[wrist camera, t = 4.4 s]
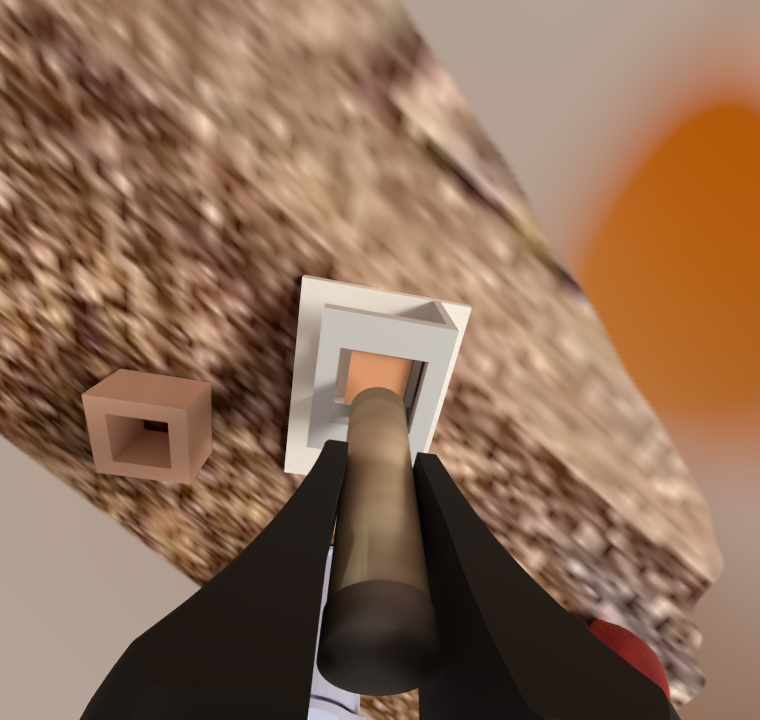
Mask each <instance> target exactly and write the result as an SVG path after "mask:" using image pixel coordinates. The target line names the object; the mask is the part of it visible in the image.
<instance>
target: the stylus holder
mask: <svg viewBox="0 0 760 720" xmlns="http://www.w3.org/2000/svg"><path fill="white" fill-rule="evenodd" d="M81 395H82V400H83V405H84V411H85V416H86V421H87V426H88V432H89V437H90V442H91V447H92V453H93V458H94V463H95V468H96V473H104V474H112V475H120V476H128V477H135V478H143V479H151V480H159V481H167V482H175V483H182V484H191V483H192V481H193V479H194V478H195V476H196V475H197V473H198V472H199V470H200V469H201V467H202V466H203V464H204V463H205V461H206V460H207V458H208V457H209V455H210V453H211V452H212V411H211V382H204V381H198V380H191V379H185V378H178V377H172V376H165V375H159V374H152V373H145V372H139V371H132V370H126V369H119V370H118V371H116V372H115V373H113V374H112V375H110V376H109V377H107V378H106V379H104V380H103V381H101V382H99V383H98V384H96V385H95V386H93V387H92V388H90V389H89V390H87V391H86V392H84V393H83V394H81ZM143 419H146V420H153V421H160V422H167V423H168V430H169V433H167V432H159V431H152V430H145V429H144V420H143Z"/></svg>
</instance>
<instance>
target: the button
mask: <svg viewBox="0 0 760 720" xmlns="http://www.w3.org/2000/svg"><path fill="white" fill-rule="evenodd" d="M411 365H412V359H406V358H400V357H394V356H388V355H382V354H376V353H370V352H364V351H358V350H352V354H351V360H350V366H349V372H348V378H347V384H346V390H345V396H344V404H351V403H352V401H353V399H354V398H355V396H356V395H357V394H359V393H360V392H361V391H363V390H365V389H368V388H372V387H383V388H387V389H390V390H392V391H393V392H395V393H396V394H397V395H398V396H399V397H400V398H401V399H402V401H403V397H404V393H405V389H406V385H407V381H408V377H409V373H410V369H411Z"/></svg>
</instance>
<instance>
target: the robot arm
mask: <svg viewBox="0 0 760 720" xmlns="http://www.w3.org/2000/svg"><path fill="white" fill-rule="evenodd" d="M348 444H349V442H345V441H338V440H331V439H329V440H327V441H326V442H325V444H324V446H323V449H322V451H321V453H320V455H319V457H318V459H317V460H316V462H315V464H314V465H313V467H312V469H311V470H310V472H309V473H308V475H307V476H306V478H305V479H304V481H303V482H302V484H301V485H300V486H299V488H298V489H297V490H296V492H295V493H294V494H293V496H292V497H291V498H290V499H289V501H288V502H287V503H286V505H285V506H284V507H283V508H282V509H281V511H280V512H279V513H278V514H277V515H276V517H275V518H274V519H273V520H272V521H271V522H270V523H269V524H268V526H267V527H266V528H265V529H264V530H263V531H262V532H261V533H260V534H259V535H258V536H257V537H256V538H255V539H254V540H253V541H252V542H251V543H250V544H249V545H248V546H247V547H246V548H245V549H244V550H243V551H242V552H241V553H240V554H239V555H238V556H237V557H236V558H235V559H234V560H233V561H232V562H231V563H230V564H228V565H227V566H226V567H225V568H224V569H223V570H222V571H221V572H219V573H218V574H217V575H216V576H215V577H214V578H212V579H211V580H210V581H209V582H208V583H207V584H205V585H204V586H203V587H202V588H201V589H200V590H198V591H197V592H196V593H195V594H194V595H193V596H191V597H190V598H189V599H188V600H186V601H185V602H184V603H183V604H181V605H180V606H179V607H177V608H176V609H175V610H173V611H172V612H171V613H169V614H168V615H167V616H165V617H164V618H163V619H162V620H160V621H159V622H158V623H156V624H155V625H154V626H152V627H151V628H150V629H148V630H147V631H146V632H144V633H143V634H142V635H141V636H139V637H138V638H136V639H135V640H134V641H133V642H132V643H131V644H130V646H129V647H128V648H127V649H126V651H125V652H124V653H123V655H122V656H121V657H120V659H119V660H118V661H117V663H116V664H115V665H114V667H113V668H112V669H111V671H110V672H109V674H108V675H107V677H106V678H105V680H104V681H103V682H102V684H101V685H100V687H99V688H98V690H97V691H96V693H95V694H94V696H93V697H92V699H91V700H90V702H89V704H88V705H87V707H86V709H85V711H84V713H83V714H82V716H81V718H80V720H367V718H366V716H361V715H359V713H360V694H355V693H351V692H347V691H344V690H342V689H339V688H337V687H335V686H333V685H332V684H330V683H329V682H328V681H326V680H325V679H324V678H323V677H322V676H321V674H320V673H319V671H318V668H317V664H316V660H317V652H318V644H319V636H320V628H321V621H322V613H323V609H324V606H325V604H326V601H327V593H328V585H329V576H330V568H331V560H332V552H333V546H330V544H331V540H332V536H333V531H334V527H335V522H336V517H337V511H338V503H339V498H340V493H341V488H342V484H343V479H344V473H345V468H346V463H347V457H348ZM413 474H414V481H415V489H416V496H417V503H418V510H419V518H420V525H421V532H422V540H423V547H424V554H425V561H426V569H427V576H428V583H429V590H430V598H431V602H432V604H433V606H434V609H435V616H436V623H437V630H438V637H439V643H440V650H441V658H442V663H441V667H440V670H439V671H438V673H437V674H436V676H435V677H434V678H433V679H431V680H430V681H429V682H428V683H426V684H425V685H423V686H421V687H419V720H681V719H680V718H679V716H678V714H677V712H676V711H675V709H674V707H673V706H672V704H671V702H670V700H669V699H668V697H667V696H666V694H665V692H664V691H663V689H662V688H661V687H659V686H658V685H657V684H656V683H654V682H653V681H652V680H650V679H649V678H648V677H647V676H645V675H644V674H643V673H641V672H640V671H639V670H638V669H636V668H635V667H634V666H632V665H631V664H630V663H628V662H627V661H626V660H625V659H623V658H622V657H621V656H619V655H618V654H617V653H616V652H614V651H613V650H612V649H610V648H609V647H608V646H607V645H605V644H604V643H603V642H602V641H601V640H600V639H598V638H597V637H596V636H595V635H594V634H592V633H591V632H590V631H589V630H588V629H587V628H585V627H584V626H583V625H582V624H581V623H580V622H578V621H577V620H576V619H575V618H574V617H573V616H572V615H571V614H569V613H568V612H567V611H566V610H565V609H564V608H563V607H562V606H561V605H559V604H558V603H557V602H556V601H555V600H554V599H553V598H552V597H551V596H550V595H549V594H548V593H547V592H546V591H545V590H544V589H543V588H542V587H541V586H540V585H539V584H538V583H537V582H535V581H534V580H533V578H532V577H531V576H530V575H529V574H528V573H527V572H526V571H525V570H524V569H523V568H522V567H521V566H520V565H519V564H518V563H517V562H516V561H515V559H514V558H513V557H512V556H511V555H510V554H509V553H508V552H507V551H506V550H505V548H504V547H503V546H502V545H501V544H500V543H499V542H498V540H497V539H496V538H495V537H494V536H493V534H492V533H491V532H490V531H489V529H488V528H487V527H486V526H485V524H484V523H483V522H482V520H481V519H480V518H479V517H478V515H477V514H476V513H475V511H474V510H473V508H472V507H471V506H470V504H469V503H468V501H467V500H466V499H465V497H464V496H463V494H462V493H461V491H460V490H459V488H458V487H457V485H456V484H455V482H454V481H453V479H452V478H451V476H450V475H449V473H448V472H447V470H446V469H445V467H444V466H443V464H442V463H441V461H440V460H439V458H438V457H437V455H436V454H429V453H422V452H417V455H416V458H415V462H414V465H413Z"/></svg>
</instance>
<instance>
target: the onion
mask: <svg viewBox="0 0 760 720" xmlns="http://www.w3.org/2000/svg"><path fill="white" fill-rule="evenodd" d="M588 630H589V631H590V632H591V633H592V634H594V635H595V636H596V637H597V638H598V639H600V640H601V641H602V642H603V643H604V644H605V645H607V646H608V647H609V648H610V649H612V650H613V651H614V652H616V653H617V654H618V655H619V656H621V657H622V658H623V659H625V660H626V661H627V662H628V663H630V664H631V665H632V666H634V667H635V668H636V669H638V670H639V671H640V672H641V673H643V674H644V675H645V676H647V677H648V678H649V679H650V680H652V681H653V682H654V683H656V684H657V685H658V686H659V687H661V688H662V689H663V691H664V692H665V694H666V696H667V697H668V699H669V700H670V693H669V685H668V682H667V678H666V675H665V673H664V670H663V668H662V666H661V664H660V662H659V660H658V658H657V656H656V654H655V653H654V652H653V651H652V650H651V648H650V647H649V646H648V645H647V644H646V643H645V642H644V641H642V640H641V639H640V638H638V637H637V636H636V635H634V634H633V633H631V632H630V631H629V630H627V629H625V628H623V627H621V626H618V625H615V624H612V623H609V622H606V621H604V620H600V619H596V620H594V621H593V622H592V623H591V625H590V627H589V628H588Z"/></svg>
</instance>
